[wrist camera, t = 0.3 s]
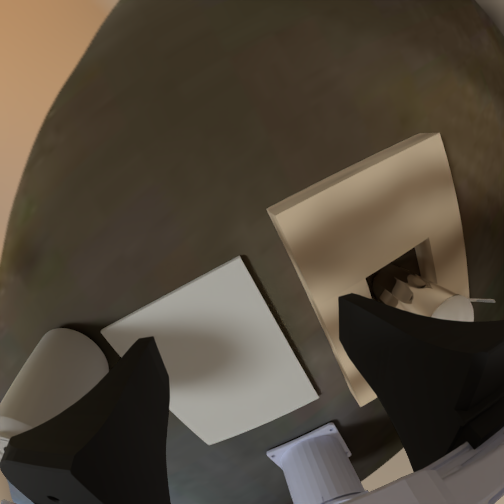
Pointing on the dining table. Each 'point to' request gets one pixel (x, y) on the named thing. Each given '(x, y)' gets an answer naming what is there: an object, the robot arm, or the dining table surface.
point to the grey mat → (219, 353)
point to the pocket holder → (374, 232)
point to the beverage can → (50, 381)
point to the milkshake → (421, 295)
